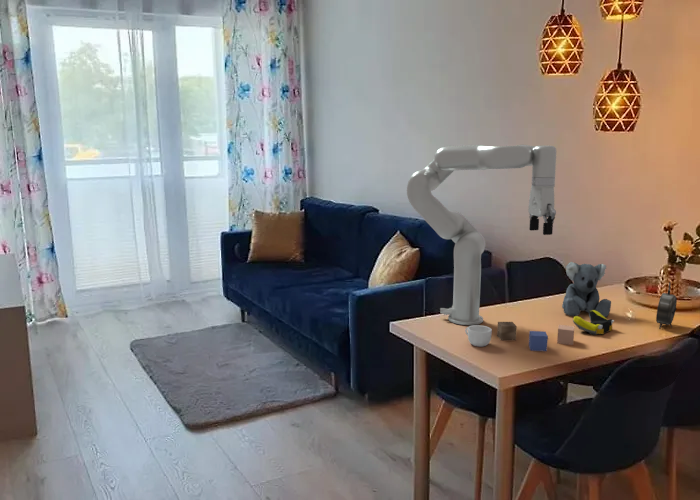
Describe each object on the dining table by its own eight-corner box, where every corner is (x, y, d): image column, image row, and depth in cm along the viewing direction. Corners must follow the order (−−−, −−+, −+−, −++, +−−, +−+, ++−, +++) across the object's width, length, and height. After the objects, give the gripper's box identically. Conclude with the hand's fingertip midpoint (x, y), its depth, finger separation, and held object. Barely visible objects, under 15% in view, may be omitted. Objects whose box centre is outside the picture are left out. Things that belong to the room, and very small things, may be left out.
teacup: (496, 345, 214) (496, 329, 213) (480, 350, 209) (480, 333, 208) (473, 337, 221) (473, 322, 220) (457, 341, 217) (457, 326, 216)
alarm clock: (660, 321, 241) (664, 278, 238) (676, 324, 238) (681, 280, 235) (654, 329, 232) (658, 284, 229) (670, 331, 229) (675, 286, 226)
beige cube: (557, 343, 216) (558, 328, 215) (557, 339, 221) (558, 324, 220) (573, 345, 214) (574, 330, 213) (573, 340, 219) (574, 326, 218)
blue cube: (530, 350, 209) (531, 335, 208) (528, 345, 214) (529, 330, 213) (546, 351, 208) (547, 336, 207) (544, 346, 213) (545, 331, 212)
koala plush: (564, 317, 246) (568, 266, 242) (553, 304, 263) (557, 256, 260) (612, 318, 244) (616, 267, 241) (598, 305, 262) (602, 257, 258)
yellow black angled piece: (569, 331, 229) (596, 338, 222) (570, 316, 228) (597, 322, 221) (591, 323, 239) (617, 329, 232) (592, 308, 238) (618, 314, 231)
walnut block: (500, 340, 219) (501, 326, 218) (497, 335, 223) (497, 321, 223) (515, 340, 219) (516, 326, 218) (511, 335, 224) (512, 321, 223)
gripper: (521, 180, 230) (519, 229, 233) (545, 184, 213) (542, 236, 217) (541, 180, 232) (538, 228, 235) (566, 184, 215) (563, 236, 218)
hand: (540, 232), depth 226 cm, fingers open, 9 cm apart
